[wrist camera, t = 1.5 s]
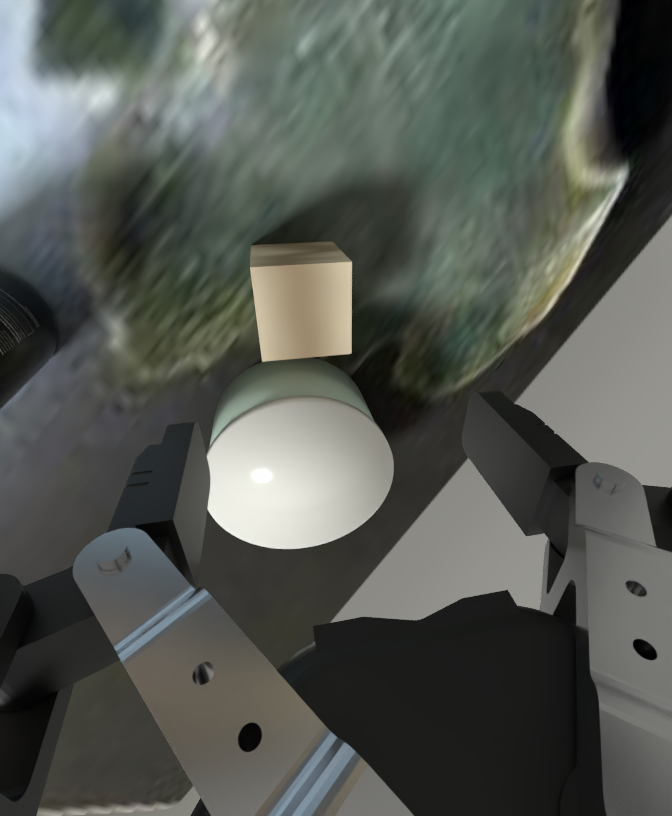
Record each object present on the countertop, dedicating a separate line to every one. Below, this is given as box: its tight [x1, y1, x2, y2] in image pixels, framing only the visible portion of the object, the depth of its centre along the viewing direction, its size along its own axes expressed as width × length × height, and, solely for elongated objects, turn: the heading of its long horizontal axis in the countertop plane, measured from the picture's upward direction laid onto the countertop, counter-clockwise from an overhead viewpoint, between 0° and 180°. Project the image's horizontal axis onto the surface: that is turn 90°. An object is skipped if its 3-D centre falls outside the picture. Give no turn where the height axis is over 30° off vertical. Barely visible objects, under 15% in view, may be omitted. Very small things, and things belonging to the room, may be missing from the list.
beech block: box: [250, 241, 352, 362], centre depth 23 cm, size 5×5×6 cm
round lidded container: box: [206, 357, 394, 549], centre depth 28 cm, size 12×12×7 cm
